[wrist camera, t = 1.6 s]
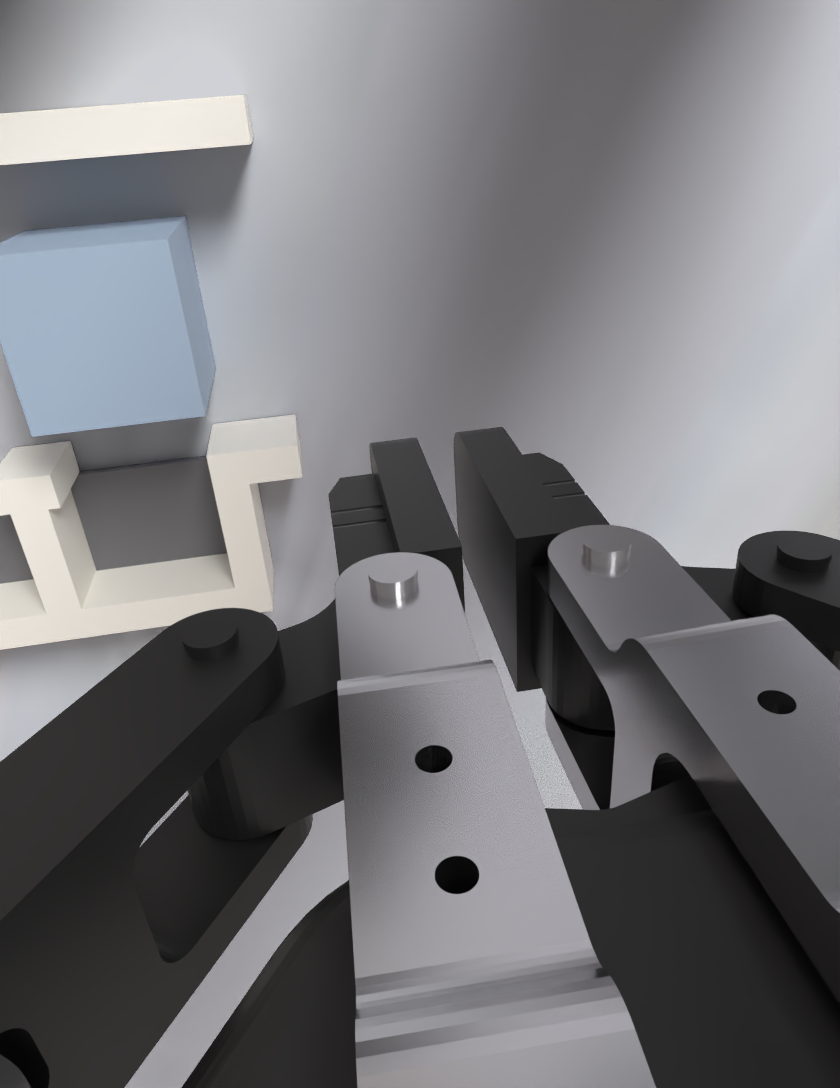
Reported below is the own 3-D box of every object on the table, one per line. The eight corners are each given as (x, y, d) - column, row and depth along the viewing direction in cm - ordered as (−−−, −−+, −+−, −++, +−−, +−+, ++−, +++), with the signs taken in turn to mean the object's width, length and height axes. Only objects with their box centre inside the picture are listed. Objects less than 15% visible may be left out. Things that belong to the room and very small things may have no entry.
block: (185, 215, 26) (167, 239, 21) (216, 367, 28) (205, 416, 24) (24, 230, 25) (-28, 257, 21) (69, 384, 28) (31, 436, 23)
